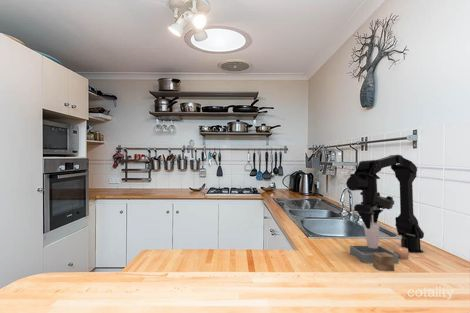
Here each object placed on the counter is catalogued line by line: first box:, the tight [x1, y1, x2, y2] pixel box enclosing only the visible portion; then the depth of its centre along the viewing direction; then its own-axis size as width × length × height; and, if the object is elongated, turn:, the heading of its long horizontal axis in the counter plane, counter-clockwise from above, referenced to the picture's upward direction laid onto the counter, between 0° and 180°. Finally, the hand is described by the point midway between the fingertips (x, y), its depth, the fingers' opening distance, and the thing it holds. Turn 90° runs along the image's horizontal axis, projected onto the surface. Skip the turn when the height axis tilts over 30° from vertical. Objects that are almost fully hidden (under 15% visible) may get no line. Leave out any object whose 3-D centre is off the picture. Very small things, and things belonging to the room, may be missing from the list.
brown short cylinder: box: [393, 245, 410, 261], centre depth 104 cm, size 5×5×4 cm
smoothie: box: [362, 215, 381, 248], centre depth 104 cm, size 6×6×14 cm
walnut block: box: [372, 253, 395, 272], centre depth 92 cm, size 5×5×5 cm
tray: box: [349, 245, 400, 265], centre depth 104 cm, size 13×13×3 cm
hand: (371, 227), depth 105 cm, fingers closed on smoothie, 6 cm apart
